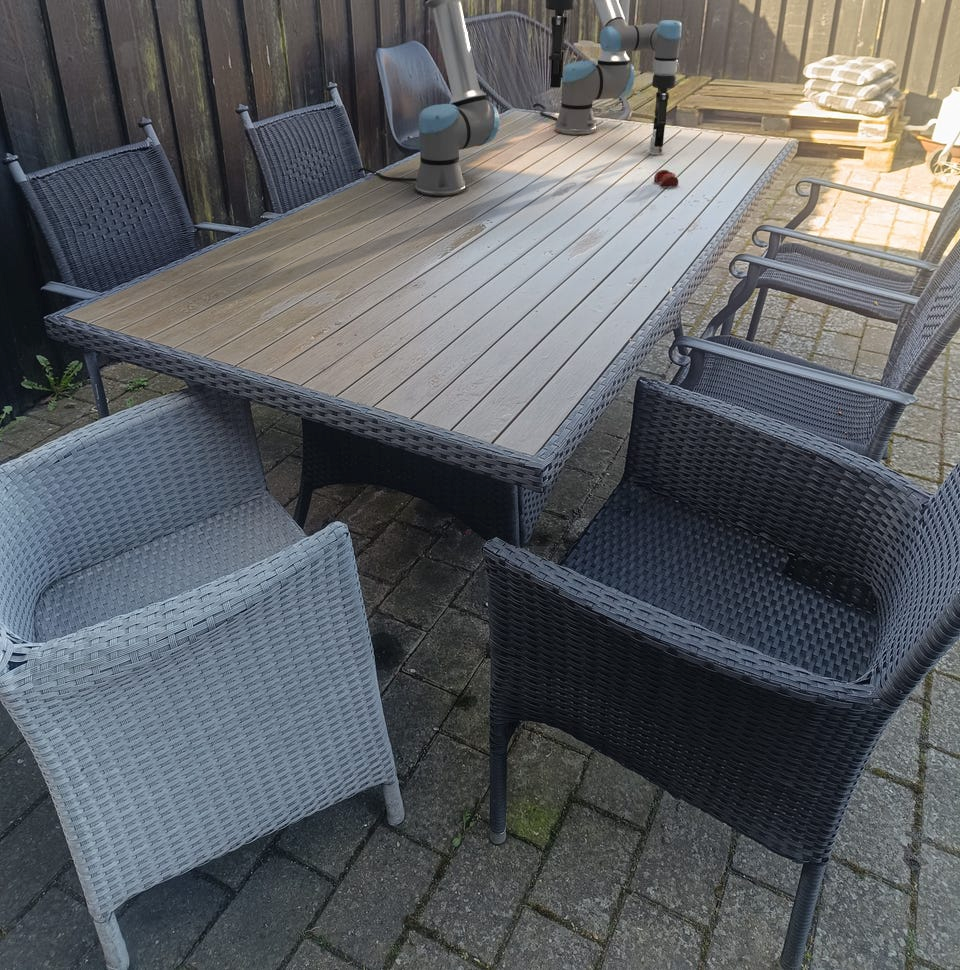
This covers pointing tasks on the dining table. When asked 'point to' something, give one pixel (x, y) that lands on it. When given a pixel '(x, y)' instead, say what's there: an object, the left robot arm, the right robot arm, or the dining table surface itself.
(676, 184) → the dark red rounded lump
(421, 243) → the dining table surface
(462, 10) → the left robot arm
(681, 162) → the dining table surface
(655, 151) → the pill bottle
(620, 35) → the right robot arm
